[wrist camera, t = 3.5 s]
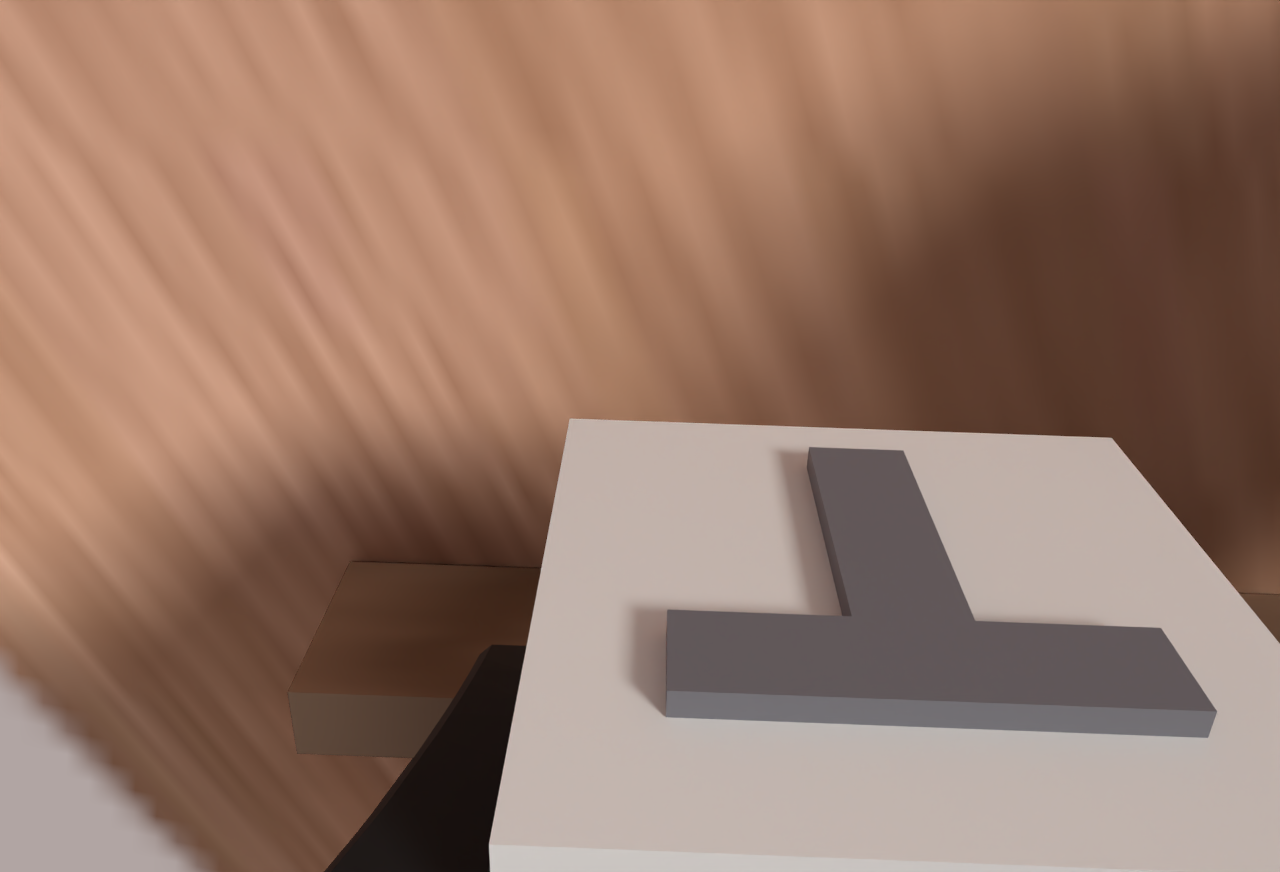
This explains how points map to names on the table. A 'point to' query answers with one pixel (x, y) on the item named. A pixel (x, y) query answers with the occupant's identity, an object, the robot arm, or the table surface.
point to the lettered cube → (881, 663)
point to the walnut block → (426, 651)
